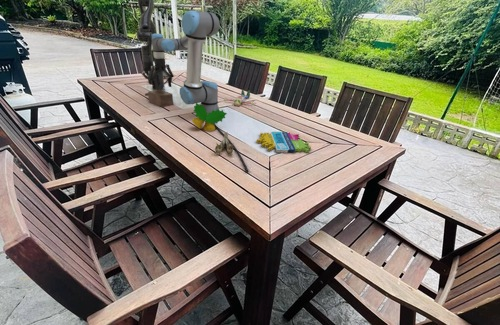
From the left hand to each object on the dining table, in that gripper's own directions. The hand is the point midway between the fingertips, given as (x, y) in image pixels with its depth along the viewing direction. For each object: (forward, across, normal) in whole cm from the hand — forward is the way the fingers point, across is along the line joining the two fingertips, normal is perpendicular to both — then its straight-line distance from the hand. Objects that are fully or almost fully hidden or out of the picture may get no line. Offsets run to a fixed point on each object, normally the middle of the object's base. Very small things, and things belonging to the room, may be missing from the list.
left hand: (150, 84), depth 204 cm
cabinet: (+12, 0, +12) cm, 17 cm away
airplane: (+12, -47, -60) cm, 77 cm away
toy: (+12, -54, +48) cm, 73 cm away
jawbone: (+12, +22, +104) cm, 107 cm away
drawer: (+11, 0, +7) cm, 13 cm away
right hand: (0, 0, +16) cm, 16 cm away
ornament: (+12, +7, +75) cm, 77 cm away
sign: (+12, -10, +119) cm, 120 cm away
